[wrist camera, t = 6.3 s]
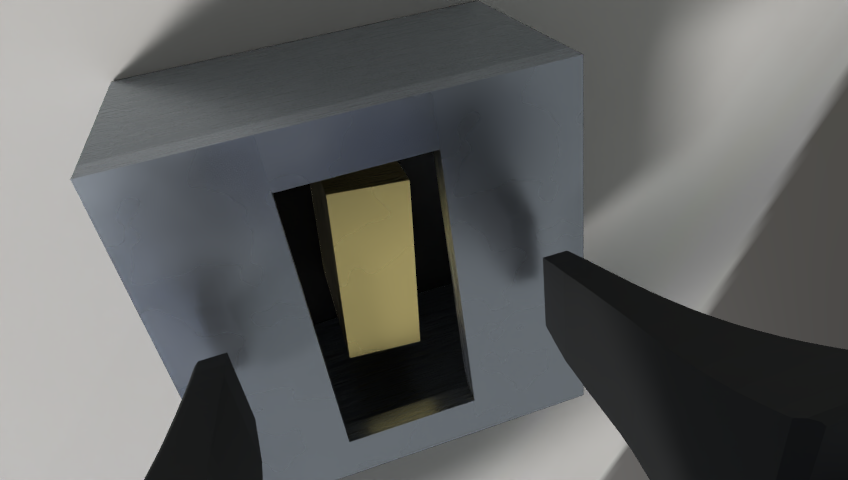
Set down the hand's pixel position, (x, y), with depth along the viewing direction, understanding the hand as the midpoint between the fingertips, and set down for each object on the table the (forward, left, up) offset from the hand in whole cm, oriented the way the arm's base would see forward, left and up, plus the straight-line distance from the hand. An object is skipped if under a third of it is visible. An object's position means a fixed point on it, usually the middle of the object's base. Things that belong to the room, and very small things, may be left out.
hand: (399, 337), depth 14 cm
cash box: (0, 0, -7) cm, 7 cm away
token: (0, 0, -7) cm, 7 cm away
